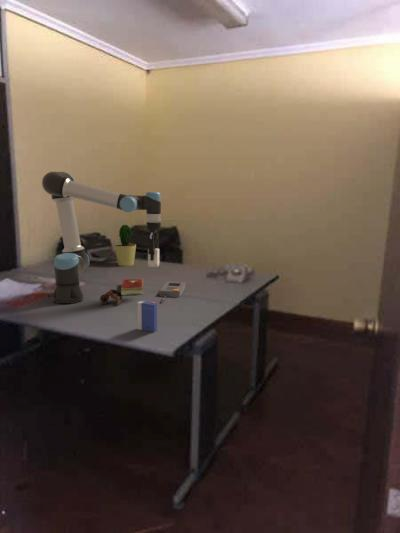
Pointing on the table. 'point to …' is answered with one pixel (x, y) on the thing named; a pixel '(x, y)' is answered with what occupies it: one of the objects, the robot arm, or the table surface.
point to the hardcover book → (132, 286)
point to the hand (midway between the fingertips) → (153, 264)
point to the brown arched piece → (111, 293)
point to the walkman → (147, 316)
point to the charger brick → (155, 258)
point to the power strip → (172, 289)
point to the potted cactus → (125, 247)
